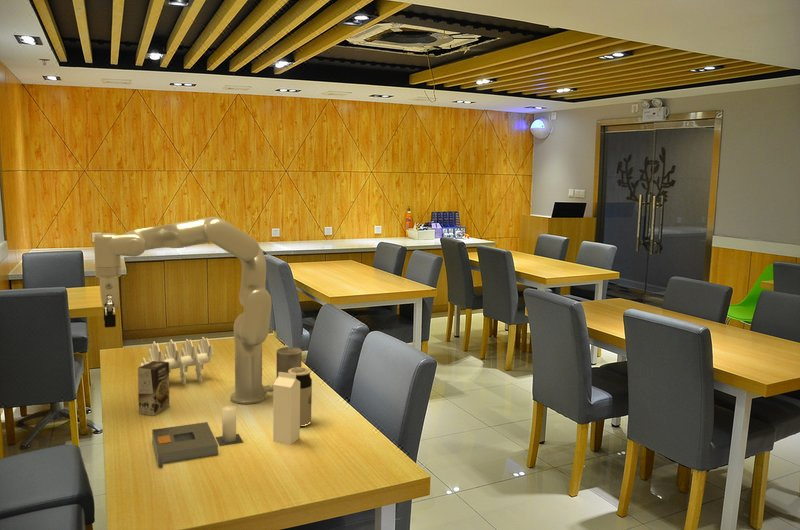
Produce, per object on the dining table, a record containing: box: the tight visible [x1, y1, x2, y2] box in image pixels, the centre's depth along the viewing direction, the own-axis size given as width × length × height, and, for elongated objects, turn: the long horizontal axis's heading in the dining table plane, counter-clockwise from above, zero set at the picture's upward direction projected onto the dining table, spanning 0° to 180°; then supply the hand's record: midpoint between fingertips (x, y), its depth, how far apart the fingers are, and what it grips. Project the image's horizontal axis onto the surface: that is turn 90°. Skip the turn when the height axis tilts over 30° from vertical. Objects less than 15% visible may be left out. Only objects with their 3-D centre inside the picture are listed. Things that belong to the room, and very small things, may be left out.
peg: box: [221, 405, 237, 443], centre depth 189 cm, size 4×4×10 cm
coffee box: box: [137, 361, 171, 417], centre depth 213 cm, size 9×6×16 cm
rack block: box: [151, 421, 219, 468], centre depth 184 cm, size 16×18×4 cm
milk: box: [272, 372, 301, 446], centre depth 190 cm, size 6×6×22 cm
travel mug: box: [288, 366, 313, 426], centre depth 205 cm, size 8×8×18 cm
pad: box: [214, 433, 244, 447], centre depth 190 cm, size 7×7×1 cm
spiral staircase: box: [139, 336, 215, 386], centre depth 239 cm, size 18×18×25 cm
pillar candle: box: [275, 346, 303, 379], centre depth 244 cm, size 10×10×15 cm
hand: (109, 323), depth 204 cm, fingers open, 9 cm apart
